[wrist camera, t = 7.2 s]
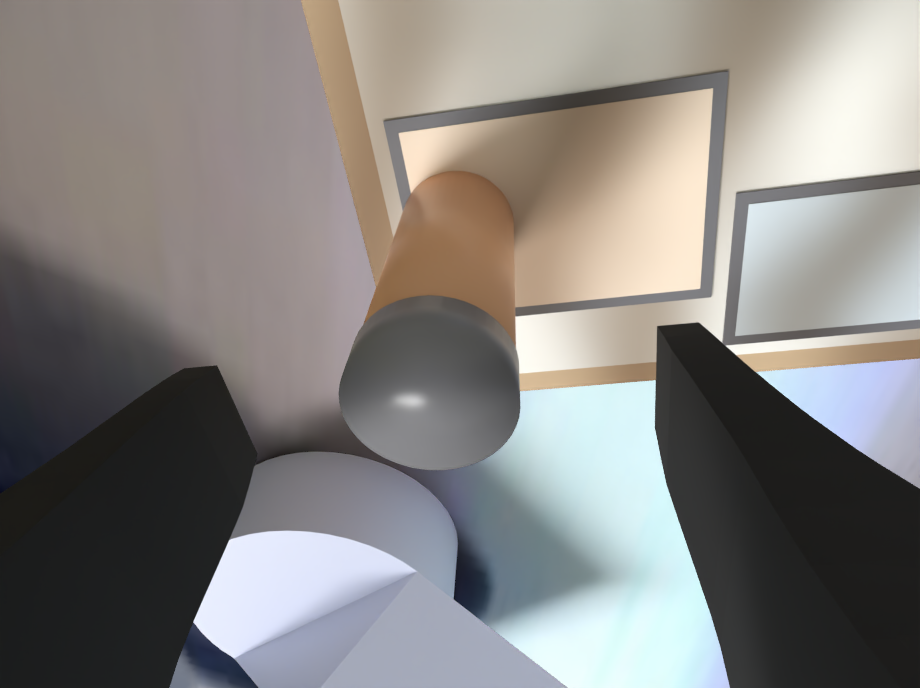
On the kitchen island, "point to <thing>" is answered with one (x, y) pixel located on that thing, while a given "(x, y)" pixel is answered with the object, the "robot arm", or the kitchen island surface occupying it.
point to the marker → (440, 332)
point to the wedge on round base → (350, 585)
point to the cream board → (654, 165)
